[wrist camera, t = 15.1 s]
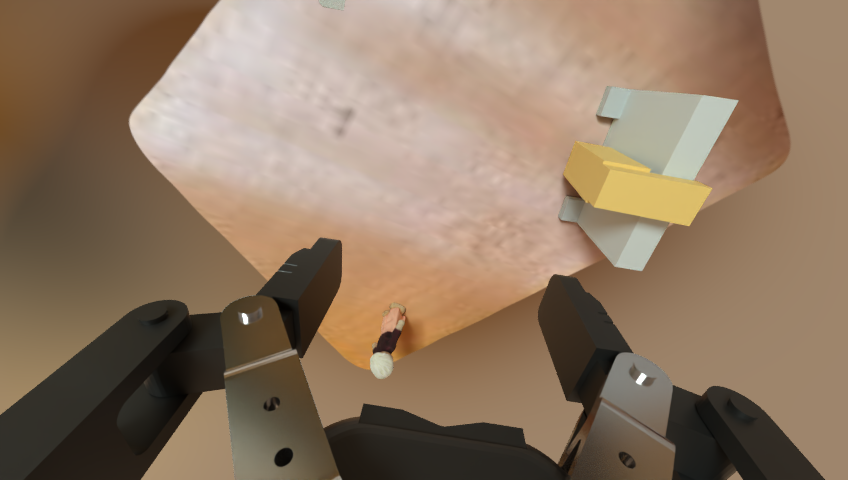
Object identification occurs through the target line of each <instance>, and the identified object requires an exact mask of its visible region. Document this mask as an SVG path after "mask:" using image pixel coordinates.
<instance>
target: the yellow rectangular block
mask: <svg viewBox="0 0 848 480" xmlns="http://www.w3.org/2000/svg"><path fill="white" fill-rule="evenodd" d="M650 170H651V169H650V168H648V167H646V166H644V165H643V164H641V163H639V162H637V161H635V160H633V159H631V158H629V157H628V156H626V155H624V154H622V153H620V152H618V151H616V150H615V149H613V148H611V147H605V146H600V145H594V144H589V143H583V142H578V141H575V144H574V146H573V149H572V152H571V154H570V157H569V160H568V163H567V165H566V168H565V171H564V173H563V175H564V176H565V177H566V179H567V180H568V181H569V182H570V184H571V185H572V186H573V187H574V188H575V190H576V191H577V192H578V193H579V195H580V196H581V197H582V198H583V199H584V201H585V202H586V203H591V205H592V206H593V207H595V208H600V209H605V210H610V211H615V212H621V213H626V214H631V215H636V216H641V217H646V218H651V219H656V220H661V221H666V222H671V223H676V224H681V225H686V226H690V224H691V222H692V221H693V219H694V217H695V216H696V214H697V213H698V211H699V210H700V208H701V206H702V205H703V203H704V201H705V200H706V198H707V197H708V195H709V193H710V192H711V190H712V189H713V188H711V187H708V186H706V185H704V184H702V183H700V182H698V181H693V180H687V179H682V178H677V177H671V176H666V175H660V174H655V173H650Z"/></svg>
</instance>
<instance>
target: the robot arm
mask: <svg viewBox="0 0 848 480" xmlns="http://www.w3.org/2000/svg"><path fill="white" fill-rule="evenodd" d="M341 277H342V243H341V241H340V240H334V239H327V238H319V239H318V240H317V242H316V243H315V244H314V245H313V247H312V248H311V249H306V248H303V249H301V250H299V251H298V252H296V253H294V254H292V255H291V256H290V257H289V258H288V260H287V261H286V262H285V264H283V265H282V266H281V267H280V269H279V270H278V271H277V272H276V273H275V274H274V275H273V276H272V278H271V279H270V280H269V281H268V282H267V283H266V284H265V286H264V287H263V288H262V289H261V290H260V291H259V292H258V293H257V294H256V295H253V296H247V297H243V298H241V299H238V300H235V301H233V302H232V303H230V304H229V305H228V306H227V307H225V309H224V310H223V311H222V312H220V313H208V314H196V315H189V311H188V308H187V306H186V305H185V304H184V303H182V302H180V301H176V300H162V301H156V302H152V303H148V304H145V305H143V306H140V307H138V308H136V309H134V310H132V311H131V312H129V313H128V314H126V315H125V316H124V317H123V318H121V319H120V320H119V321H118V322H116V323H115V324H114V325H113V326H111V327H110V328H109V329H108V330H106V331H105V332H104V333H103V334H101V335H100V336H99V337H98V338H97V339H95V340H94V341H93V342H91V343H90V344H89V345H87V346H86V347H85V348H84V349H82V350H81V351H80V352H79V353H78V354H76V355H75V356H74V357H73V358H71V359H70V360H69V361H67V362H66V363H65V364H64V365H63V366H61V367H60V368H59V369H57V370H56V371H55V372H54V373H53V374H51V375H50V376H49V377H48V378H46V379H45V380H44V381H42V382H41V383H40V384H39V385H37V386H36V387H35V388H34V389H32V390H31V391H30V392H29V393H27V394H26V395H25V396H24V397H22V398H21V399H20V400H19V401H18V402H16V403H15V404H14V405H12V406H11V407H10V408H9V409H7V410H6V411H5V412H4V413H2V414H1V415H0V480H141V478H142V477H143V476H144V474H145V472H146V471H147V470H148V468H149V467H150V466H151V464H152V463H153V461H154V460H155V459H156V457H157V456H158V454H159V453H160V451H161V450H162V449H163V447H164V446H165V444H166V443H167V442H168V440H169V439H170V437H171V436H172V435H173V433H174V432H175V430H176V429H177V428H178V426H179V425H180V423H181V422H182V420H183V419H184V418H185V416H186V415H187V414H188V412H189V411H190V409H191V408H192V406H193V405H194V404H195V402H196V401H197V399H198V398H199V397H200V395H201V394H202V392H205V391H212V390H219V389H225V390H226V400H227V409H228V418H229V429H230V437H231V448H232V457H233V465H234V466H233V467H234V475H235V480H727V479H728V478H729V477H730V476H731V475H733V474H734V473H735V472H736V471H738V473H739V474H740V476H741V477H742V479H743V480H825V479H824V478H823V477H822V476H821V475H820V473H819V472H818V471H817V470H816V469H815V468H814V467H813V465H812V464H811V463H810V462H809V461H808V460H807V459H806V457H805V456H804V455H803V454H802V453H801V452H800V451H799V449H797V447H796V446H795V445H794V444H793V443H792V442H791V441H790V439H789V438H788V437H787V436H786V435H785V434H784V433H783V431H782V430H781V429H780V428H779V427H778V426H777V425H776V423H775V422H774V421H773V420H772V419H771V418H770V417H769V416H768V415H767V414H766V412H764V411H763V410H762V409H761V408H760V407H759V406H758V405H756V404H755V403H754V402H752V401H751V400H749V399H748V398H746V397H745V396H743V395H741V394H739V393H737V392H735V391H733V390H730V389H727V388H724V387H720V386H712V387H710V388H708V389H707V391H706V392H705V393H704V394H703V395H702V396H699V395H697V394H694V393H692V392H689V391H687V390H684V389H682V388H679V387H676V386H674V385H672V382H671V380H670V379H669V377H668V376H667V375H666V373H665V372H664V371H663V370H662V369H661V368H659V367H658V366H657V365H656V364H654V363H653V362H651V361H650V360H648V359H646V358H644V357H642V356H639V355H637V354H634V353H633V352H632V350H631V349H630V347H629V346H628V344H627V343H626V341H625V340H624V338H623V337H622V335H621V334H620V332H619V330H618V329H617V327H616V326H615V325H614V324H613V321H612V320H611V318H610V317H609V316H608V315H607V312H606V311H605V309H604V308H603V306H602V305H601V303H600V302H599V301H598V300H596V299H595V298H594V297H593V296H592V295H591V294H590V293H587V292H585V290H584V289H583V288H582V286H581V284H580V282H579V281H578V279H577V278H575V277H570V276H563V275H557V274H555V275H553V276H552V277H551V279H550V281H549V284H548V286H547V289H546V291H545V294H544V296H543V299H542V301H541V304H540V306H539V310H538V320H539V324H540V327H541V330H542V333H543V336H544V338H545V341H546V344H547V347H548V350H549V352H550V355H551V358H552V361H553V364H554V367H555V369H556V372H557V375H558V377H559V380H560V383H561V386H562V389H563V392H564V394H565V397H566V400H567V401H571V402H578V403H582V405H583V407H584V410H583V411H582V413H581V415H580V416H579V419H578V421H577V423H576V425H575V428H574V430H573V432H572V434H571V436H570V439H569V441H568V443H567V445H566V447H565V450H564V452H563V454H562V456H561V458H560V461H559V462H558V464H556V463H555V462H554V461H553V460H552V459H550V458H549V457H548V456H546V455H545V454H543V453H542V452H541V451H539V450H537V449H535V448H534V447H532V446H530V445H528V444H526V443H525V439H524V434H523V429H522V428H516V427H509V426H503V425H497V424H489V423H474V424H465V425H456V426H447V427H444V426H439V425H437V424H435V423H432V422H430V421H428V420H425V419H423V418H420V417H418V416H416V415H414V414H411V413H409V412H407V411H404V410H401V409H395V408H388V407H382V406H376V405H370V404H363V408H362V412H361V415H360V417H353V418H349V419H345V420H341V421H339V422H336V423H333V424H331V425H329V426H327V427H325V428H323V425H322V423H321V420H320V417H319V414H318V411H317V408H316V405H315V402H314V400H313V396H312V394H311V391H310V388H309V385H308V382H307V379H306V376H305V373H304V370H303V368H302V365H301V362H300V359H299V358H303V356H304V355H305V353H306V351H307V349H308V347H309V345H310V343H311V341H312V339H313V337H314V336H315V334H316V332H317V330H318V328H319V326H320V324H321V322H322V320H323V318H324V317H325V315H326V313H327V311H328V309H329V307H330V305H331V303H332V301H333V299H334V297H335V296H336V294H337V292H338V290H339V287H340V283H341Z"/></svg>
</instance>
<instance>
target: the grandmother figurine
mask: <svg viewBox="0 0 848 480" xmlns="http://www.w3.org/2000/svg"><path fill="white" fill-rule="evenodd" d="M390 309H391V310H390V311H385V312H383V317H384V318H383V322H382V327H381V336H380V338H379V341H378V343H376V342H375V343H373V344H372V348H373V354H374V355H373V356H372V357H371V359H370V368H371V371H372V373H373V374H374V375H375V376H376V377H377V378H380V379H384V378H386V377H387V376H389V375H390V374H391V372H392V371H393V368H394V367H393V363H394V362H393V357H392V355H391V353H392V352H393V351H394V350H395V347H396V343H397V341H398V338H399V336H400V334H401V331H402V328H403V326H404V324H405V319H406V317H405V316H402V315H403V314H404V313H405V310H406V309H405V307H404V306H402V305H400V304H397V303H392V304H391V305H390Z"/></svg>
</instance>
